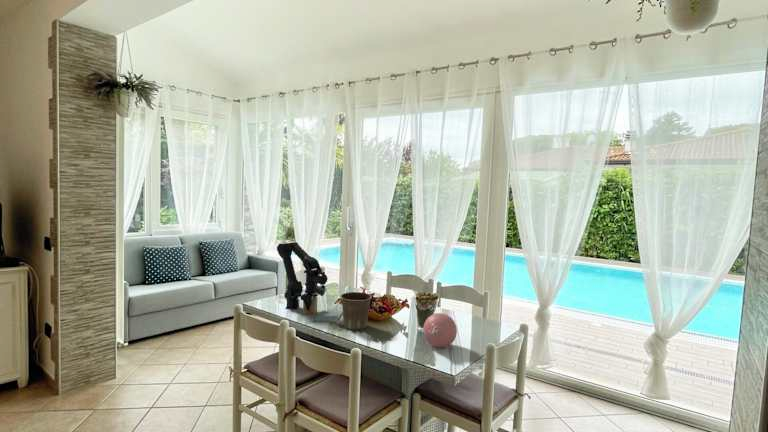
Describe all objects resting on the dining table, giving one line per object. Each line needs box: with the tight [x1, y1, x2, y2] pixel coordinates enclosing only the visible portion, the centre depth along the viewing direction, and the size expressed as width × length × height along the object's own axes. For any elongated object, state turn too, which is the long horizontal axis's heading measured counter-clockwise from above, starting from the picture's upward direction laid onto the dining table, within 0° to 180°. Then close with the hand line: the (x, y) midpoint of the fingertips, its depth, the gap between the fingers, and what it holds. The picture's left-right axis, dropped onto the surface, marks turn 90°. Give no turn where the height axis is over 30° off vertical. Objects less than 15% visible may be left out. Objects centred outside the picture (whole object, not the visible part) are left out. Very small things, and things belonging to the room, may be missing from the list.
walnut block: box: [302, 296, 318, 316], centre depth 231 cm, size 7×4×9 cm, turn 84°
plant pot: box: [340, 291, 373, 331], centre depth 211 cm, size 16×16×16 cm
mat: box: [313, 309, 343, 323], centre depth 226 cm, size 12×18×1 cm, turn 174°
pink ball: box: [422, 312, 458, 349], centre depth 185 cm, size 15×20×15 cm
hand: (310, 308), depth 231 cm, fingers open, 6 cm apart
